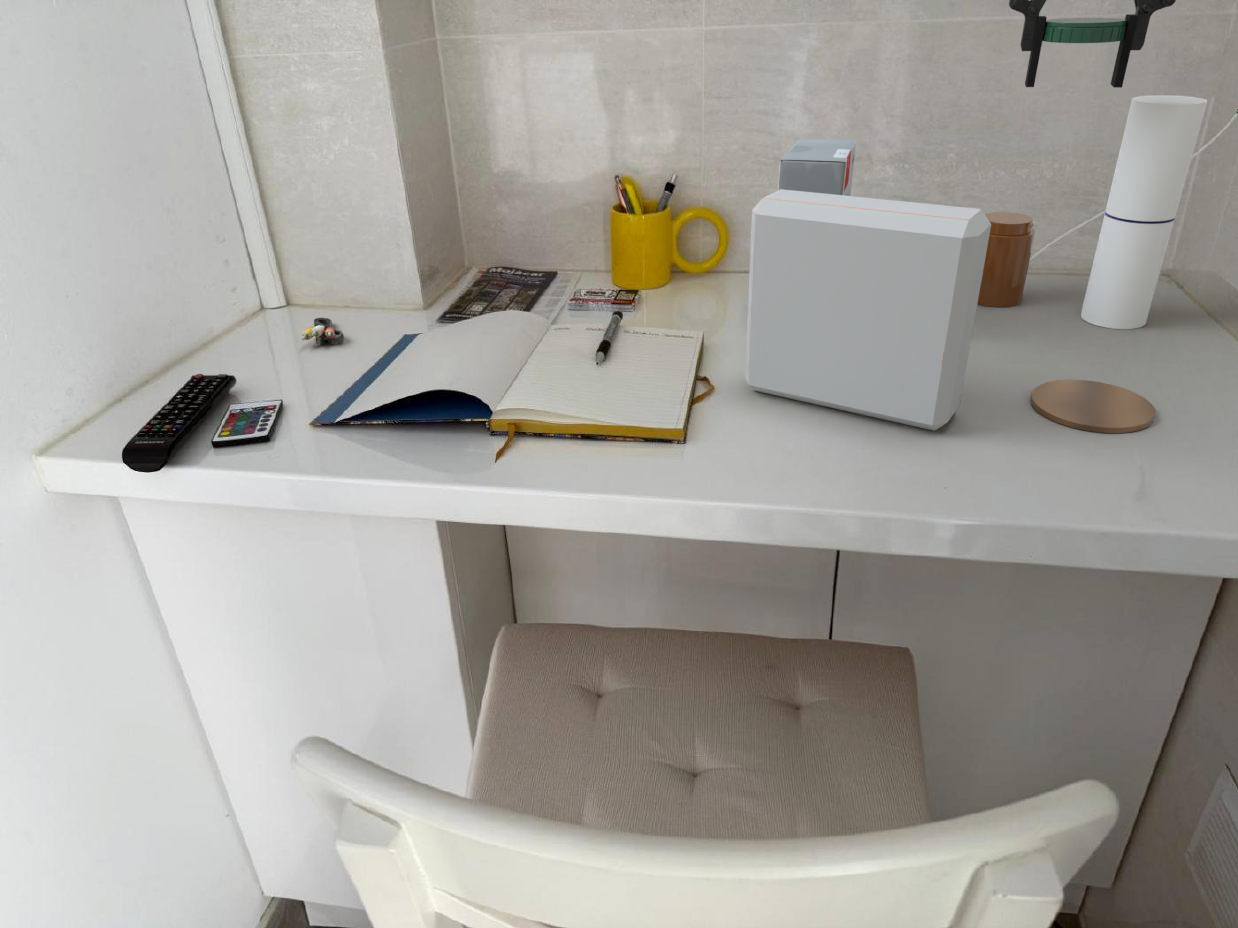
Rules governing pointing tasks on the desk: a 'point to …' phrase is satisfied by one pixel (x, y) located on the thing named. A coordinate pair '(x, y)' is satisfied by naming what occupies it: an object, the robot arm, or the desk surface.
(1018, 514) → the desk surface
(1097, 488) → the desk surface
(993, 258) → the brown lidded jar
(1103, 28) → the jar lid
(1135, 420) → the coaster
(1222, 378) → the desk surface
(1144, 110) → the cylindrical container
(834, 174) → the hard drive box
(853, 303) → the bevelled white case
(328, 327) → the composite cable
